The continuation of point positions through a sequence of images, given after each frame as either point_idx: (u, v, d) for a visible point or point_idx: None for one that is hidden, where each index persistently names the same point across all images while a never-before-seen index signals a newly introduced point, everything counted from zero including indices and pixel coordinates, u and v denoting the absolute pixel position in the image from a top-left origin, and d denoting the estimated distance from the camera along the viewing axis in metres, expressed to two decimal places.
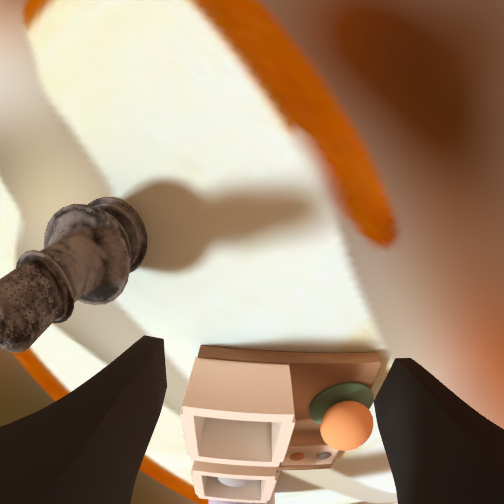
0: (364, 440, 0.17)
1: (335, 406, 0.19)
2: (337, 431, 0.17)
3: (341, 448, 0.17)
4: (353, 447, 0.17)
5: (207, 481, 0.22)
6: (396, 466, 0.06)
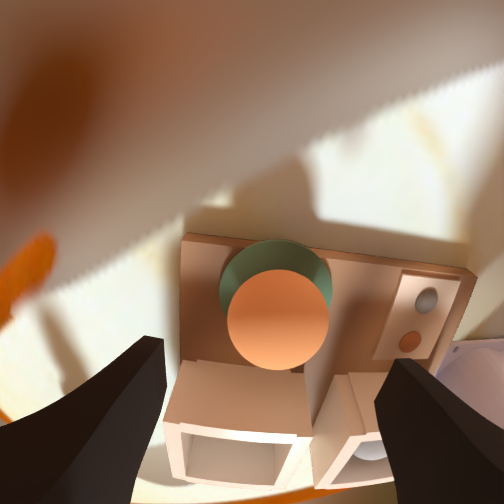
0: (278, 322, 0.10)
1: None
2: None
3: (289, 362, 0.10)
4: (289, 346, 0.10)
5: None
6: (396, 466, 0.06)
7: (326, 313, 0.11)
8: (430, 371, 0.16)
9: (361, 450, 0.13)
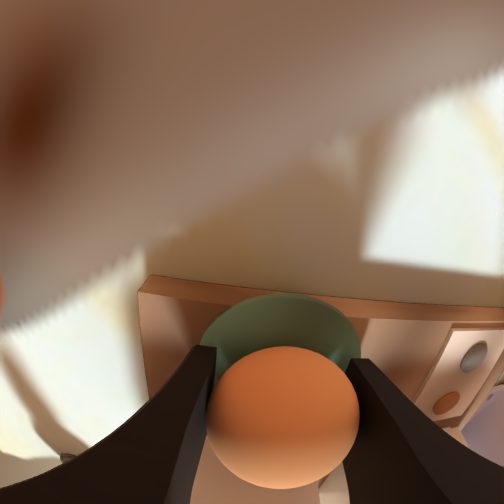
0: (285, 452, 0.05)
1: None
2: None
3: (298, 486, 0.05)
4: (299, 476, 0.05)
5: None
6: (349, 473, 0.06)
7: (358, 417, 0.06)
8: (460, 425, 0.11)
9: None
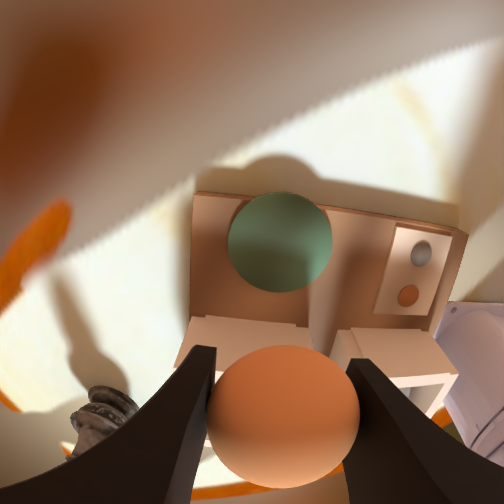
0: (285, 451, 0.05)
1: None
2: None
3: (298, 485, 0.05)
4: (300, 475, 0.05)
5: None
6: (349, 473, 0.06)
7: (358, 416, 0.06)
8: (430, 330, 0.17)
9: None
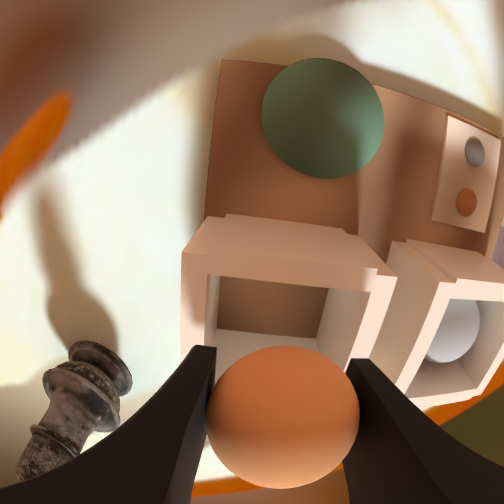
0: (285, 451, 0.05)
1: None
2: None
3: (297, 486, 0.05)
4: (299, 476, 0.05)
5: (463, 367, 0.12)
6: (349, 473, 0.06)
7: (358, 416, 0.06)
8: (487, 255, 0.13)
9: (437, 340, 0.11)
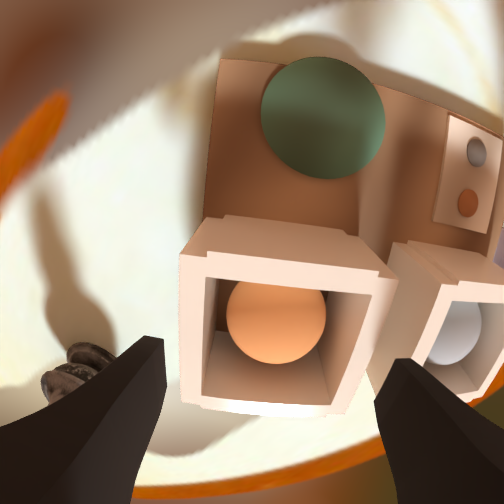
0: (277, 316, 0.10)
1: None
2: (246, 354, 0.11)
3: (287, 356, 0.10)
4: (287, 339, 0.10)
5: (464, 369, 0.12)
6: (396, 466, 0.06)
7: (323, 308, 0.11)
8: (488, 257, 0.13)
9: (439, 342, 0.11)
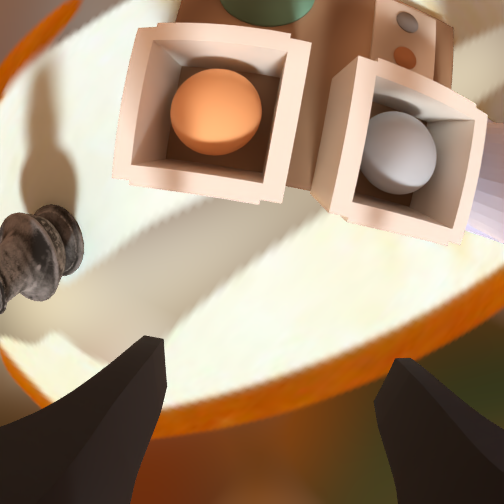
0: (209, 82, 0.10)
1: None
2: (182, 134, 0.11)
3: (217, 123, 0.10)
4: (217, 101, 0.10)
5: (433, 217, 0.13)
6: (396, 466, 0.06)
7: (256, 95, 0.11)
8: None
9: (385, 145, 0.11)
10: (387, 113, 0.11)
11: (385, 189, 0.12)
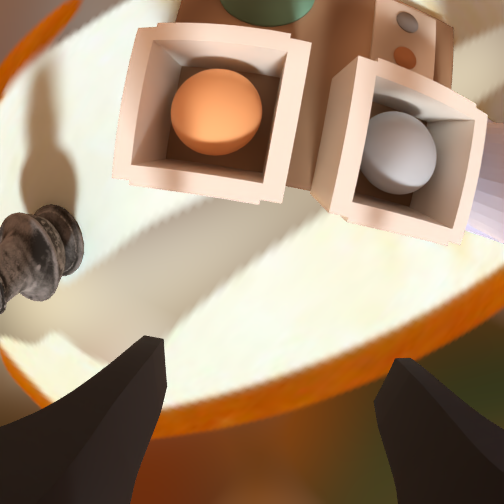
0: (210, 83, 0.10)
1: None
2: (183, 134, 0.11)
3: (218, 123, 0.11)
4: (217, 101, 0.10)
5: (433, 217, 0.13)
6: (396, 466, 0.06)
7: (257, 95, 0.11)
8: None
9: (385, 145, 0.11)
10: (387, 113, 0.11)
11: (385, 189, 0.12)
